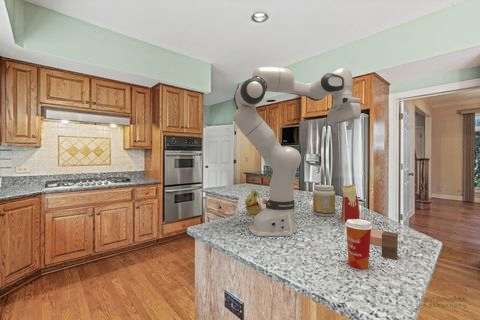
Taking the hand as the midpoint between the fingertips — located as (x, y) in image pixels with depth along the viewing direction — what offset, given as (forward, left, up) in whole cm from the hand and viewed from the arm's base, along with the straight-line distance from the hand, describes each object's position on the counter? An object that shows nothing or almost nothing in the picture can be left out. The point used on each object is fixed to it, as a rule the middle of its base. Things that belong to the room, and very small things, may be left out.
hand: (342, 131), depth 115 cm
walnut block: (-6, -34, -47) cm, 58 cm away
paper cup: (-21, -37, -47) cm, 64 cm away
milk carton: (+9, +6, -47) cm, 48 cm away
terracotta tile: (+1, -21, -47) cm, 51 cm away
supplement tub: (+4, +22, -47) cm, 52 cm away
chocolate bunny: (-36, +31, -47) cm, 67 cm away
